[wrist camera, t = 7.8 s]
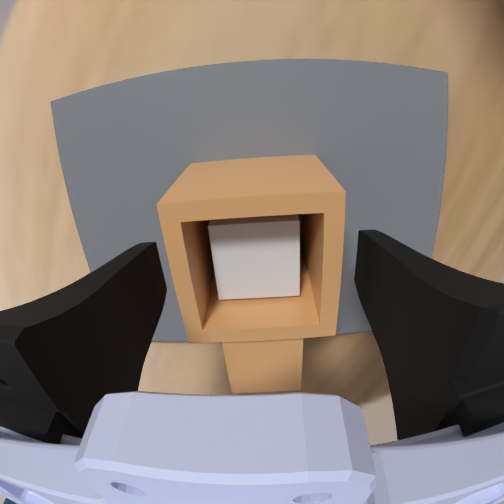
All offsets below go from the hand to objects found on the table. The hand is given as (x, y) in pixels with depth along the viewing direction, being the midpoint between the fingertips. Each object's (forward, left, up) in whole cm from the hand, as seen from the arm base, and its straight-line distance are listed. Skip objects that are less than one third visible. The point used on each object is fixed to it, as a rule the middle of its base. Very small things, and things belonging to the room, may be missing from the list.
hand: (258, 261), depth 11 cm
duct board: (0, 0, -4) cm, 4 cm away
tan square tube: (0, +2, -3) cm, 4 cm away
